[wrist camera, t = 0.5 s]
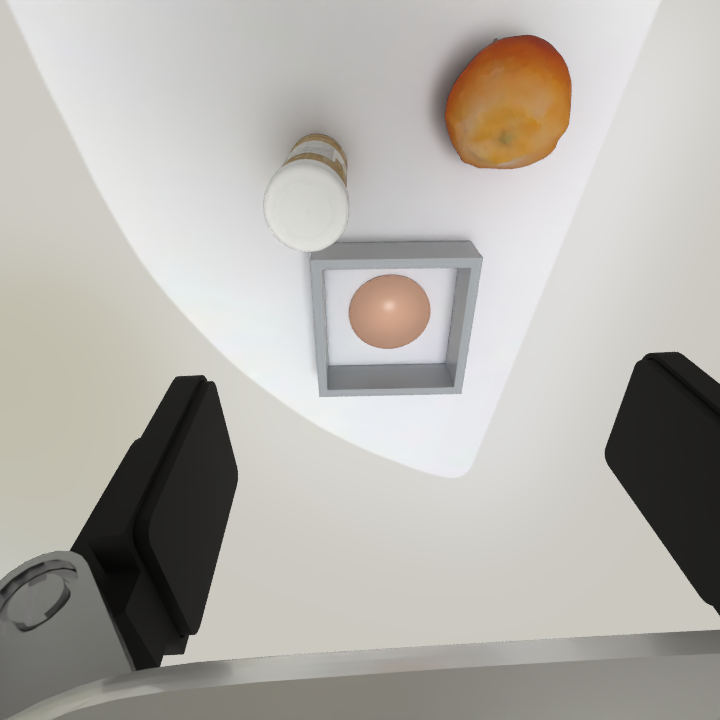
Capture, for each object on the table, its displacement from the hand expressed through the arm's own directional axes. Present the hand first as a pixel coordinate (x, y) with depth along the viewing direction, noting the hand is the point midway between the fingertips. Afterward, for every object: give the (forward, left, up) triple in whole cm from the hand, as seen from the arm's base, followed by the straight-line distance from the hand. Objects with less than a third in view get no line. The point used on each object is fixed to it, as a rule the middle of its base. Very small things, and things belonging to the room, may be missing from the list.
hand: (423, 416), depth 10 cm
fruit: (-4, +9, -30) cm, 31 cm away
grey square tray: (+13, +2, -29) cm, 32 cm away
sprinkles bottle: (0, -4, -30) cm, 30 cm away
